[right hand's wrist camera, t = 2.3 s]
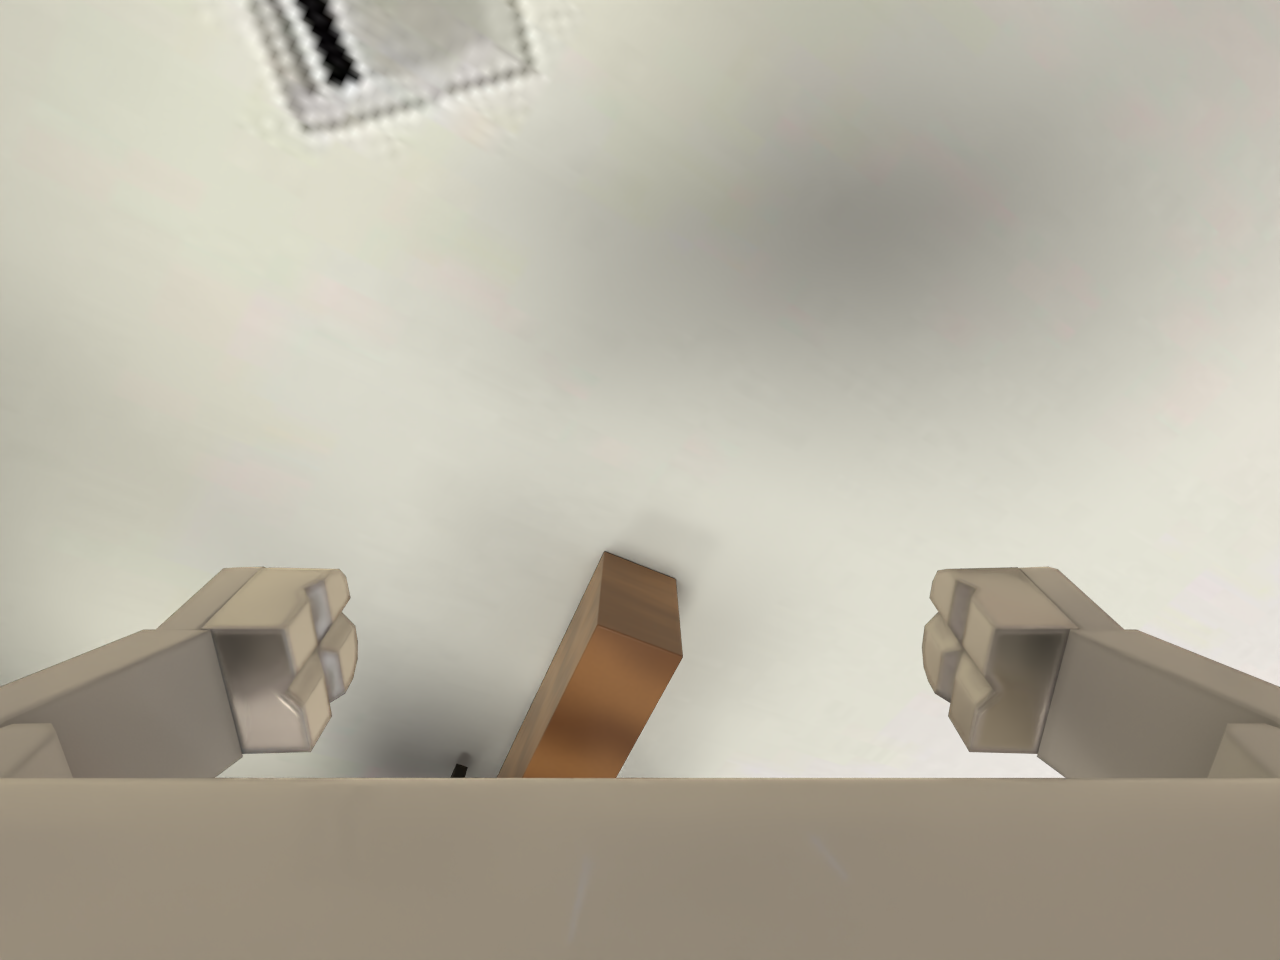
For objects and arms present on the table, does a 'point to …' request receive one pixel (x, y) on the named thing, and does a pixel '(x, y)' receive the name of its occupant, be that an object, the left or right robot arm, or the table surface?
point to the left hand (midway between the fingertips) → (526, 803)
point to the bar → (602, 677)
